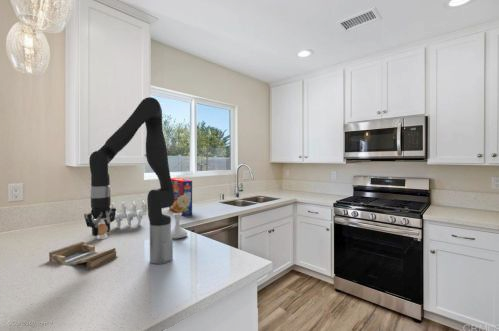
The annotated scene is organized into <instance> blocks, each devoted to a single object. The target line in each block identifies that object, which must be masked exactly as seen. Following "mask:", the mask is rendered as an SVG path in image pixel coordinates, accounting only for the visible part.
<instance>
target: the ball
mask: <svg viewBox="0 0 499 331" xmlns="http://www.w3.org/2000/svg"><path fill="white" fill-rule="evenodd" d="M97 227H98V235H104V234H105V233H106V232H107V230H108V227H107V225H105V224H99V225H98V226H97Z"/></svg>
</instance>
